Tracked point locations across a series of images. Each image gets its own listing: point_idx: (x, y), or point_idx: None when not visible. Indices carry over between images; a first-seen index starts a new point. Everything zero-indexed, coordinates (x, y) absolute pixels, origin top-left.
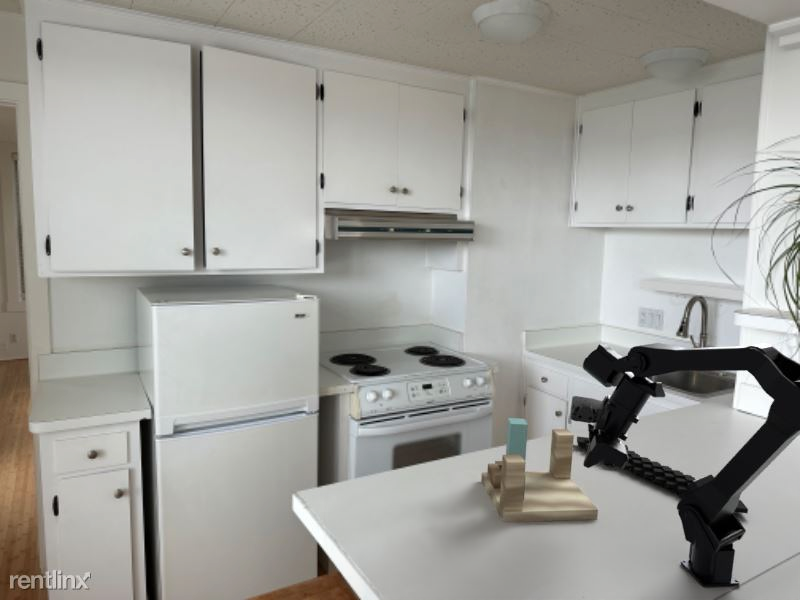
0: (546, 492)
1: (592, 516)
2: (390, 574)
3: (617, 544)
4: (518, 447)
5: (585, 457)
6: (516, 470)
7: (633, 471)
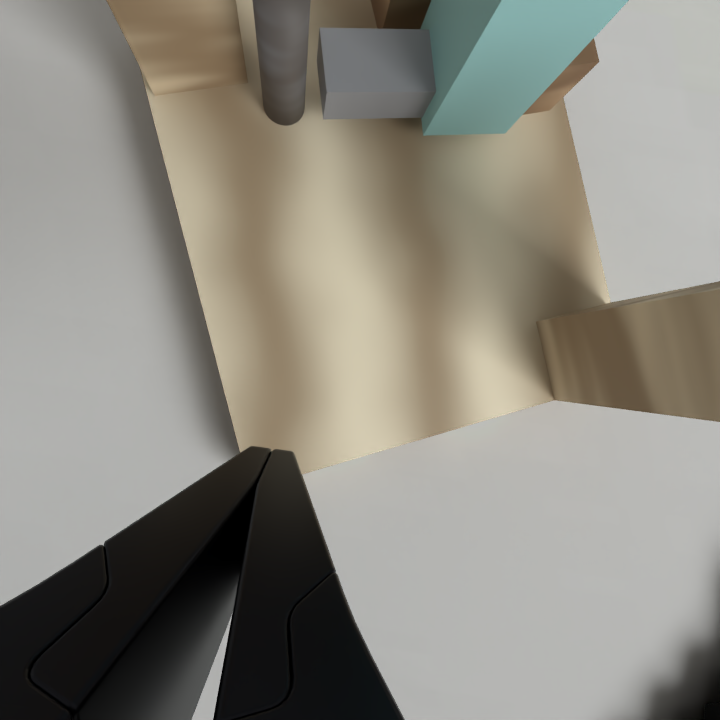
0: (381, 253)
1: None
2: None
3: (38, 532)
4: None
5: (273, 484)
6: None
7: (716, 714)
